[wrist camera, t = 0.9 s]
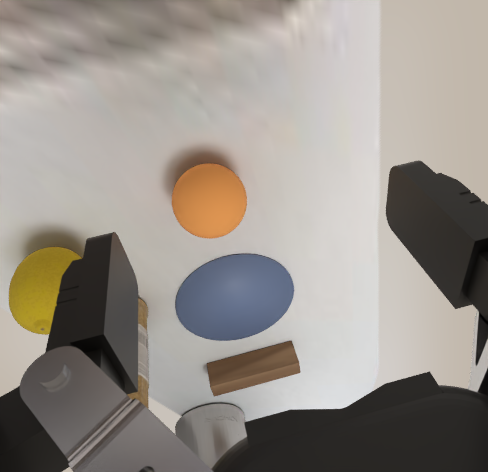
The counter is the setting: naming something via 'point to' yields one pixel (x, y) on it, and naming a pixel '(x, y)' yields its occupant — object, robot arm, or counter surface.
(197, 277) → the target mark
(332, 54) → the counter surface
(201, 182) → the ball
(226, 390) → the stopper wall
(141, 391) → the sprinkles bottle
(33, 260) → the lemon
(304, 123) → the counter surface
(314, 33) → the counter surface
